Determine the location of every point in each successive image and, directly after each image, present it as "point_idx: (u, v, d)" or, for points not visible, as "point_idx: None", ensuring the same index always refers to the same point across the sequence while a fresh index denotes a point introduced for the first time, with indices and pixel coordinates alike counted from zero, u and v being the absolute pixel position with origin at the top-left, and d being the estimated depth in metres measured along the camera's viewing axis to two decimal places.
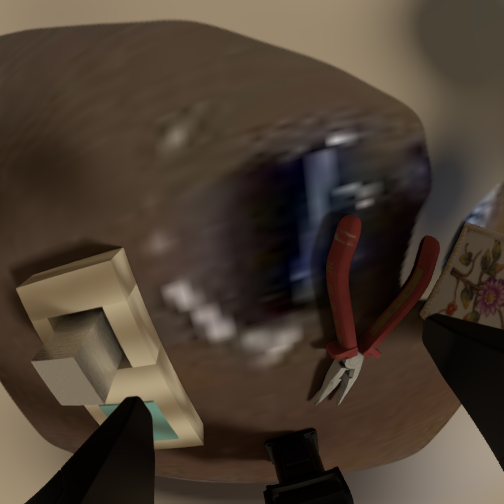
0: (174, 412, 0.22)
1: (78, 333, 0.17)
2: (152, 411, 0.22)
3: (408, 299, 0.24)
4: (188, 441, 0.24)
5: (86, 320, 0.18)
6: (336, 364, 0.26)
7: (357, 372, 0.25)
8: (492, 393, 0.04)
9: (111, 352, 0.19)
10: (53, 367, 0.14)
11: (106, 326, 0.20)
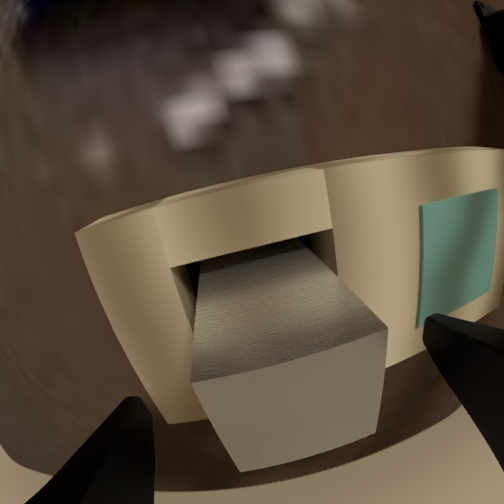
0: (447, 169, 0.10)
1: None
2: (442, 216, 0.10)
3: None
4: (503, 173, 0.10)
5: None
6: None
7: None
8: (492, 393, 0.04)
9: (282, 268, 0.10)
10: (247, 438, 0.06)
11: (231, 268, 0.10)
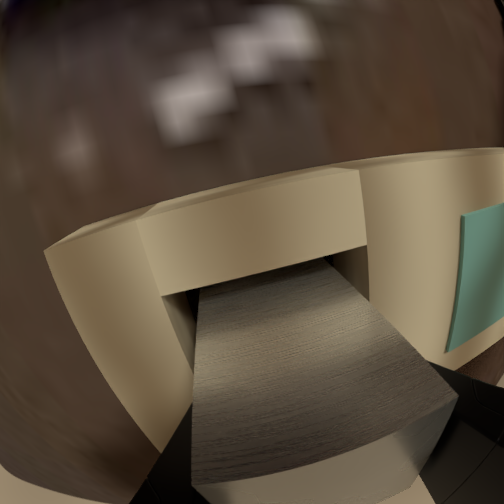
0: (488, 173, 0.07)
1: None
2: (483, 228, 0.08)
3: None
4: None
5: None
6: None
7: None
8: None
9: (306, 299, 0.07)
10: None
11: (239, 295, 0.08)
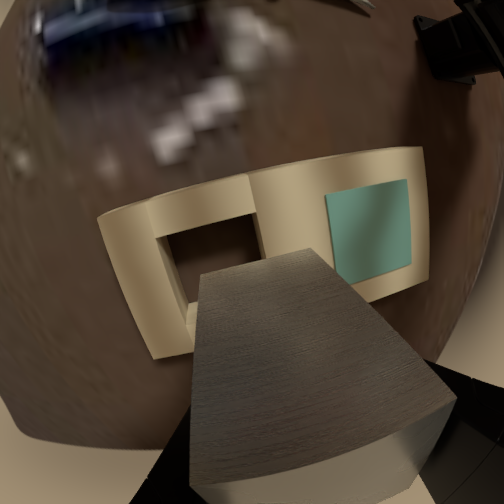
0: (349, 167, 0.16)
1: None
2: (346, 202, 0.16)
3: None
4: (415, 166, 0.16)
5: None
6: None
7: None
8: None
9: (304, 299, 0.07)
10: None
11: (238, 296, 0.08)
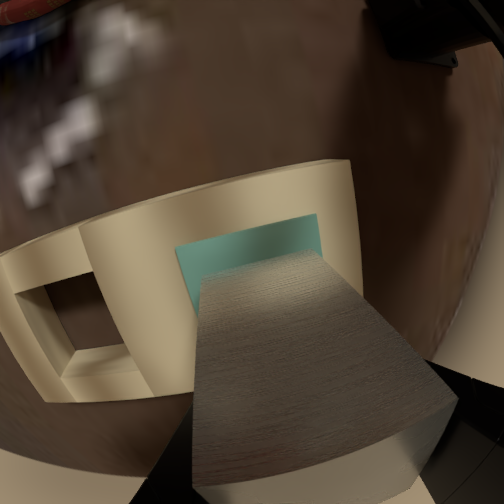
0: (211, 205, 0.11)
1: None
2: (208, 256, 0.12)
3: None
4: (335, 192, 0.12)
5: None
6: None
7: None
8: None
9: (306, 300, 0.07)
10: None
11: (239, 296, 0.08)
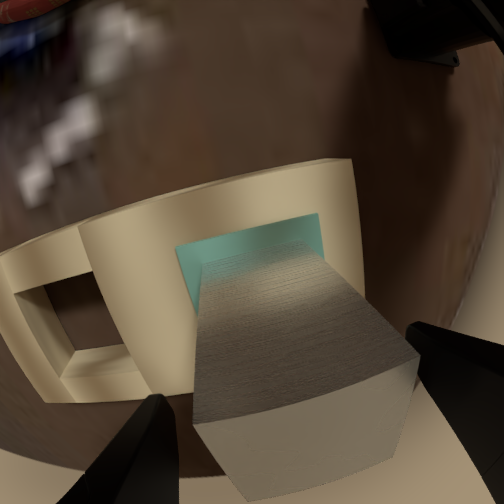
0: (212, 204, 0.11)
1: None
2: (208, 256, 0.12)
3: None
4: (336, 192, 0.12)
5: None
6: None
7: None
8: (474, 407, 0.04)
9: (293, 280, 0.08)
10: (257, 474, 0.05)
11: (236, 279, 0.09)
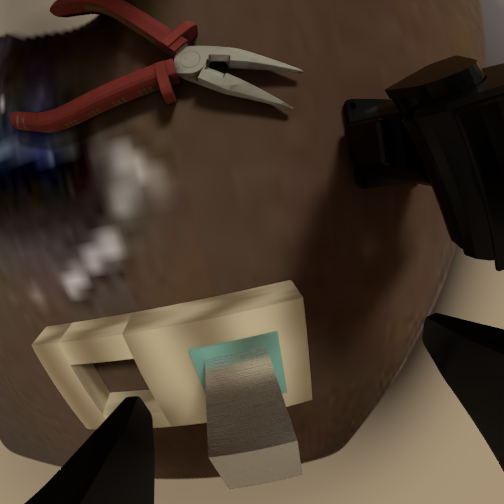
0: (211, 328, 0.18)
1: None
2: (209, 355, 0.18)
3: (110, 10, 0.12)
4: (291, 318, 0.18)
5: None
6: (202, 83, 0.15)
7: (220, 49, 0.14)
8: (492, 393, 0.04)
9: (255, 386, 0.15)
10: (233, 475, 0.11)
11: (225, 379, 0.16)
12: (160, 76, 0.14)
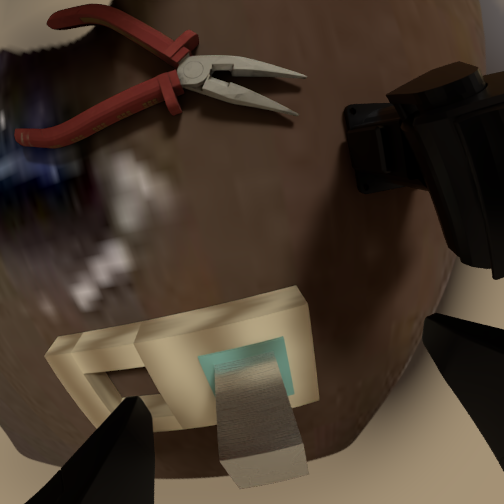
0: (219, 335, 0.18)
1: None
2: (217, 361, 0.19)
3: (108, 22, 0.12)
4: (296, 323, 0.19)
5: None
6: (207, 93, 0.16)
7: (222, 58, 0.14)
8: (492, 393, 0.04)
9: (262, 391, 0.16)
10: (243, 476, 0.12)
11: (234, 384, 0.17)
12: (164, 88, 0.14)
